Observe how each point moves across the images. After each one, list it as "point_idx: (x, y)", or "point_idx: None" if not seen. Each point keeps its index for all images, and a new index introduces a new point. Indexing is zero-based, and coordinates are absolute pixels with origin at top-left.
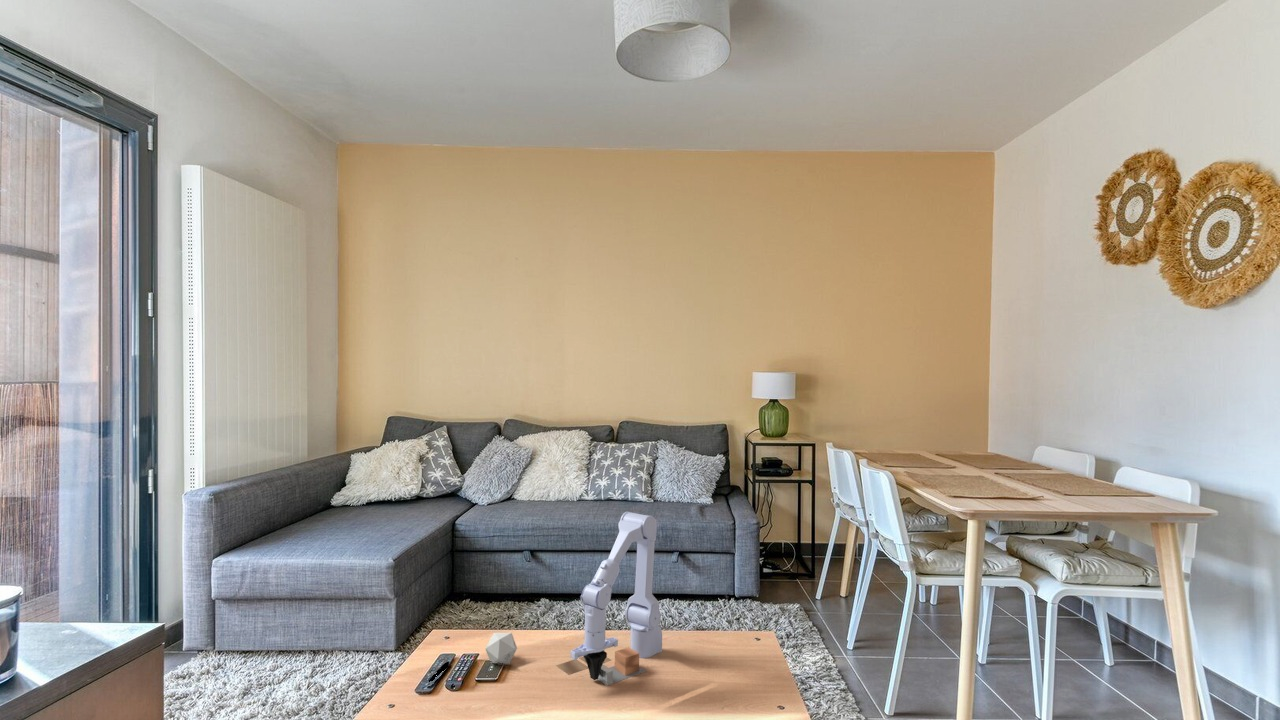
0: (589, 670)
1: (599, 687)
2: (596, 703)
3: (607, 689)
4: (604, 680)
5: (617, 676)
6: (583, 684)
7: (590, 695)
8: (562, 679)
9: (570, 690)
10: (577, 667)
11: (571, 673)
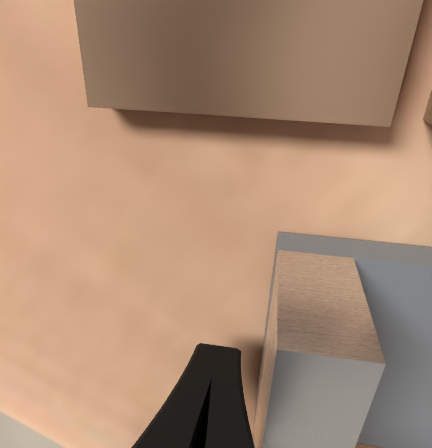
0: (173, 397)
1: None
2: (114, 438)
3: None
4: (255, 434)
5: (425, 409)
6: (165, 268)
7: (128, 381)
8: (42, 74)
9: (38, 268)
10: (282, 9)
11: (128, 104)
